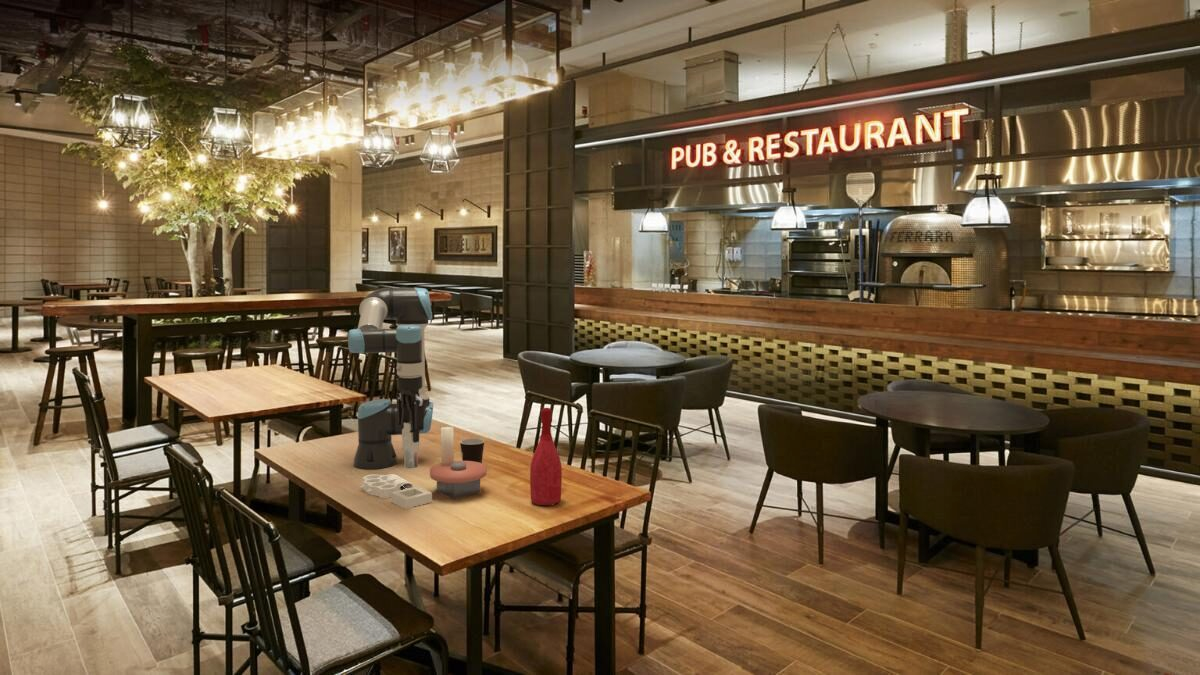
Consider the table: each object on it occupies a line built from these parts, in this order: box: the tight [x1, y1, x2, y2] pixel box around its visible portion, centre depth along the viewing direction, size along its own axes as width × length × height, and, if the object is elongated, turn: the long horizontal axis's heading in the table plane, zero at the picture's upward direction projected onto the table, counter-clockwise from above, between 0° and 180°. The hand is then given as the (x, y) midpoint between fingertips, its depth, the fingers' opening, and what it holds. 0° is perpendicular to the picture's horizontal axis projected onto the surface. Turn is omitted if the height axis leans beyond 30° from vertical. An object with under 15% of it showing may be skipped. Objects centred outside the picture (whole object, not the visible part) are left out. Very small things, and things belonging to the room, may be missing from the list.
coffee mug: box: [459, 438, 485, 464], centre depth 261 cm, size 12×9×10 cm
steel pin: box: [403, 421, 419, 469], centre depth 222 cm, size 4×4×14 cm
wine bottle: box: [529, 407, 563, 506], centre depth 224 cm, size 10×10×30 cm
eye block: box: [390, 486, 433, 510], centre depth 223 cm, size 9×9×3 cm
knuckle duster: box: [358, 473, 414, 499], centre depth 235 cm, size 3×18×15 cm
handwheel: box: [429, 426, 488, 483], centre depth 232 cm, size 18×18×14 cm
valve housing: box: [436, 479, 481, 500], centre depth 233 cm, size 10×10×6 cm
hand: (410, 450), depth 222 cm, fingers closed on steel pin, 4 cm apart
